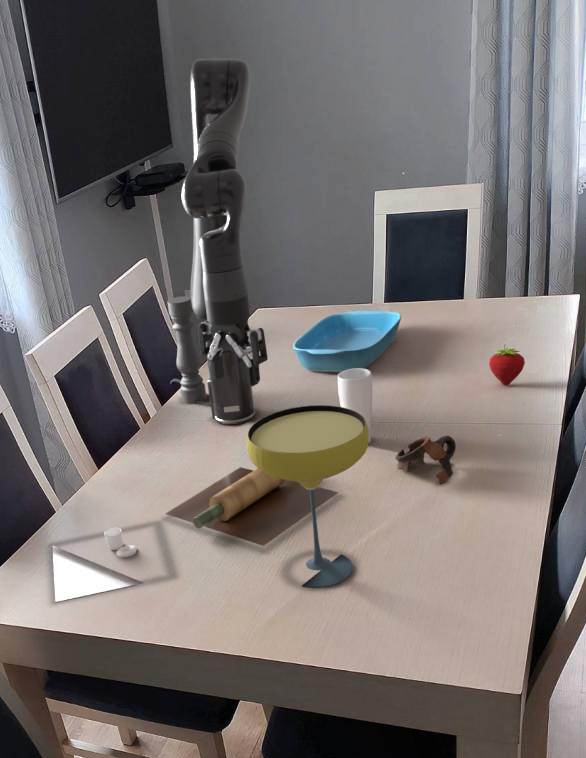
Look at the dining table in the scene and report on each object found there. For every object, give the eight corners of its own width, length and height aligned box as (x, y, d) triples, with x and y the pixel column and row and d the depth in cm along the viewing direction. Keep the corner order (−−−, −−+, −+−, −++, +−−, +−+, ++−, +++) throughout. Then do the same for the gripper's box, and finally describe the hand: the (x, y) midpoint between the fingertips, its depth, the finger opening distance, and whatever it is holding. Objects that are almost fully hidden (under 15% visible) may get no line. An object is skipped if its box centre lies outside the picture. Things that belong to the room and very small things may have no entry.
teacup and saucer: (142, 559, 153) (138, 539, 151) (97, 568, 152) (93, 549, 150) (136, 536, 161) (132, 517, 159) (94, 545, 160) (89, 526, 158)
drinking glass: (374, 448, 178) (371, 378, 170) (340, 450, 179) (336, 381, 172) (375, 434, 183) (371, 366, 176) (342, 436, 185) (338, 369, 178)
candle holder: (178, 403, 217) (162, 304, 205) (187, 394, 222) (172, 296, 210) (201, 403, 215) (186, 303, 202) (210, 394, 219) (196, 295, 207)
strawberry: (520, 391, 191) (522, 347, 186) (485, 389, 195) (486, 346, 190) (526, 381, 195) (528, 338, 190) (492, 380, 199) (493, 337, 194)
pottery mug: (434, 494, 158) (410, 457, 157) (404, 498, 167) (381, 463, 166) (477, 456, 162) (454, 419, 160) (445, 462, 171) (423, 428, 169)
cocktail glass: (265, 545, 151) (248, 411, 139) (371, 537, 148) (363, 399, 135) (261, 604, 135) (242, 459, 123) (380, 597, 132) (372, 447, 120)
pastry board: (166, 519, 165) (165, 513, 164) (241, 472, 177) (240, 467, 177) (264, 551, 149) (263, 545, 148) (338, 497, 162) (338, 491, 161)
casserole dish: (333, 332, 248) (331, 307, 244) (411, 332, 237) (410, 306, 233) (283, 379, 221) (280, 351, 217) (368, 381, 210) (367, 353, 206)
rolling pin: (189, 531, 156) (184, 507, 154) (285, 469, 172) (282, 446, 170) (209, 538, 153) (205, 514, 151) (305, 474, 169) (303, 451, 167)
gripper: (271, 290, 149) (279, 380, 157) (210, 283, 158) (221, 368, 166) (242, 303, 144) (252, 395, 153) (181, 296, 154) (194, 382, 162)
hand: (236, 381), depth 159 cm, fingers open, 8 cm apart
